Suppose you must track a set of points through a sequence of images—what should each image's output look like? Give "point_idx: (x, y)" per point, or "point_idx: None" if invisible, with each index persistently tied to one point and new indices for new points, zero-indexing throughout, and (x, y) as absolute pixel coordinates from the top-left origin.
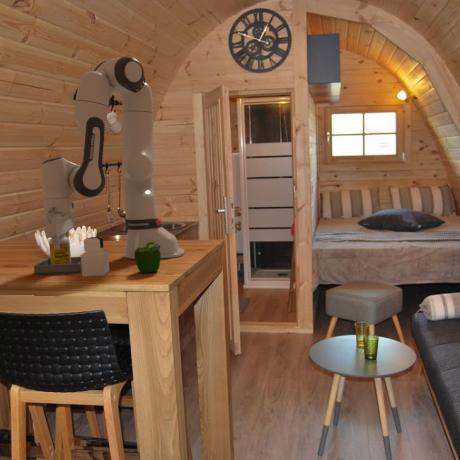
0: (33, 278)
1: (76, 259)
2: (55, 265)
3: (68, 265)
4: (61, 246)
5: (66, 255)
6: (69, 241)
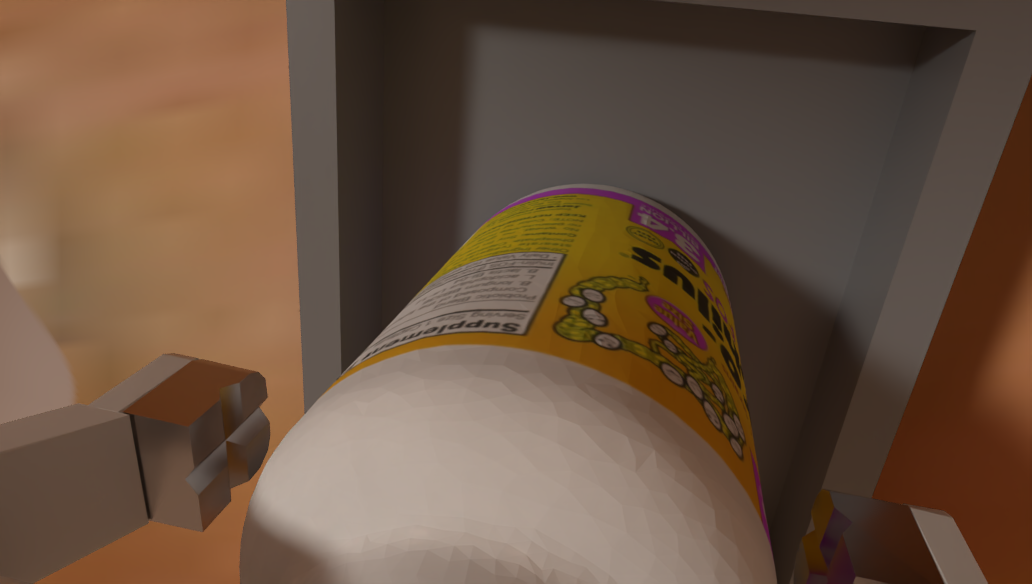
0: (1018, 570)
1: (354, 138)
2: (902, 402)
3: (977, 192)
4: (758, 488)
5: (694, 295)
6: (476, 351)
